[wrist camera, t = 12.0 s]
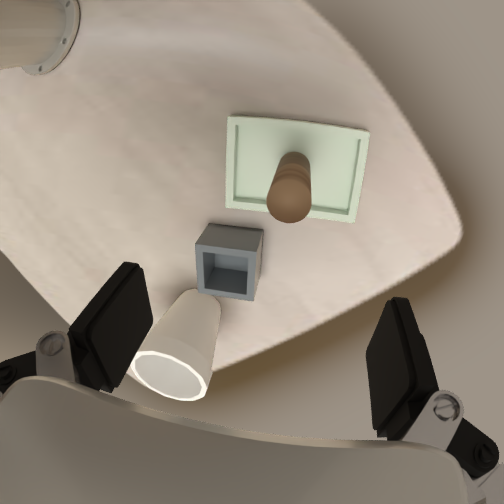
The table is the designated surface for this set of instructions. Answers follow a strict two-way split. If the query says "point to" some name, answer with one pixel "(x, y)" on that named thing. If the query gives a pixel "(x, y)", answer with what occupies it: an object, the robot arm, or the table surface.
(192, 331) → the foam cup
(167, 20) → the table surface
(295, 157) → the dowel
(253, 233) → the pen cup
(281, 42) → the table surface
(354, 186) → the tray
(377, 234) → the table surface
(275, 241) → the table surface
